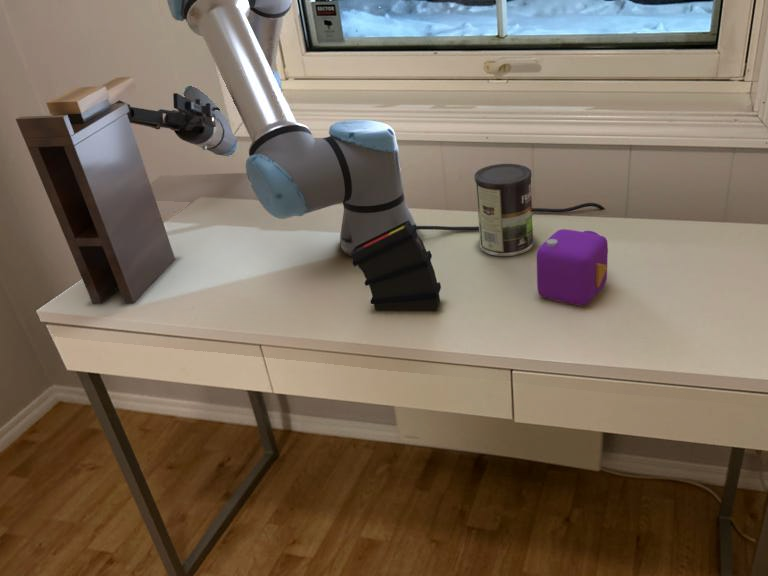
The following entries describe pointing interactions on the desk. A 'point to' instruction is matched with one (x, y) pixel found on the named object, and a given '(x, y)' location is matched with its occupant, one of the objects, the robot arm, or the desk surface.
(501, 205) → the coffee can
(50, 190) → the shelf
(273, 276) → the desk surface
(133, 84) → the tan block
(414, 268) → the magazine
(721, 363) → the desk surface
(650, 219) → the desk surface
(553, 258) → the toy camera
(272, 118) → the robot arm
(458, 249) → the desk surface
